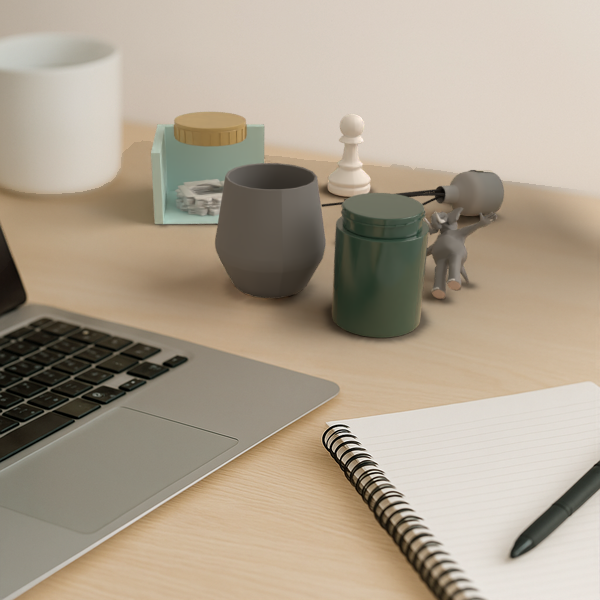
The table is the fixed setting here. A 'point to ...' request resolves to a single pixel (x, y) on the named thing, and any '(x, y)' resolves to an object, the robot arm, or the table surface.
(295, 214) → the cup
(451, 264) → the elephant figurine
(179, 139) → the jar lid
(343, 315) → the jar
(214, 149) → the l-shaped corner panel
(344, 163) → the chess pawn
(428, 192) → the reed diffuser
